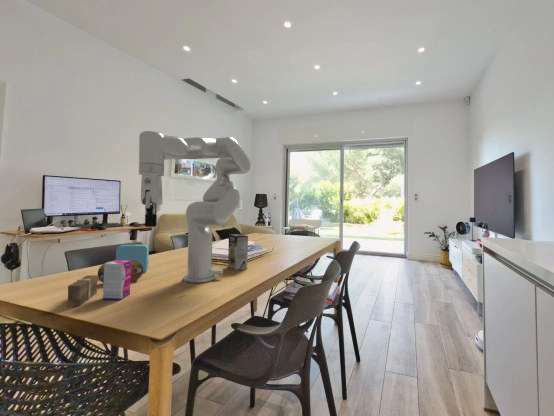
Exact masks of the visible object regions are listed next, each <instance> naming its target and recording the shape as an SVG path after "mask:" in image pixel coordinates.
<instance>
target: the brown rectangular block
mask: <svg viewBox="0 0 554 416" xmlns="http://www.w3.org/2000/svg"><path fill="white" fill-rule="evenodd" d="M97 292H98V274H97V275H96V274H92V275H91V274H90V275H86V276H83V277H82V278H79V279H77V281H74V282H73V283H70V284H69V285H68V286H67V307H69V308H70V307H72V308H73V307H81V306H82V305H83V304H85V303H86V302H87V301H89V300H90V299H91V298H93V297H94V296H95V295H97Z"/></svg>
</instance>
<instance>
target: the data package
mask: <svg viewBox="0 0 554 416" xmlns="http://www.w3.org/2000/svg"><path fill="white" fill-rule="evenodd" d="M149 251H150V248H149V245H148V244H139V243H137V244H121V245H119V246H117V247H116V250H115V260H137V261H139V262H140V263H141V264H142V266H143V274H144V273H146V272H147V271H148V269H149V258H150V257H149V256H150V255H149V254H150V252H149Z"/></svg>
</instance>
